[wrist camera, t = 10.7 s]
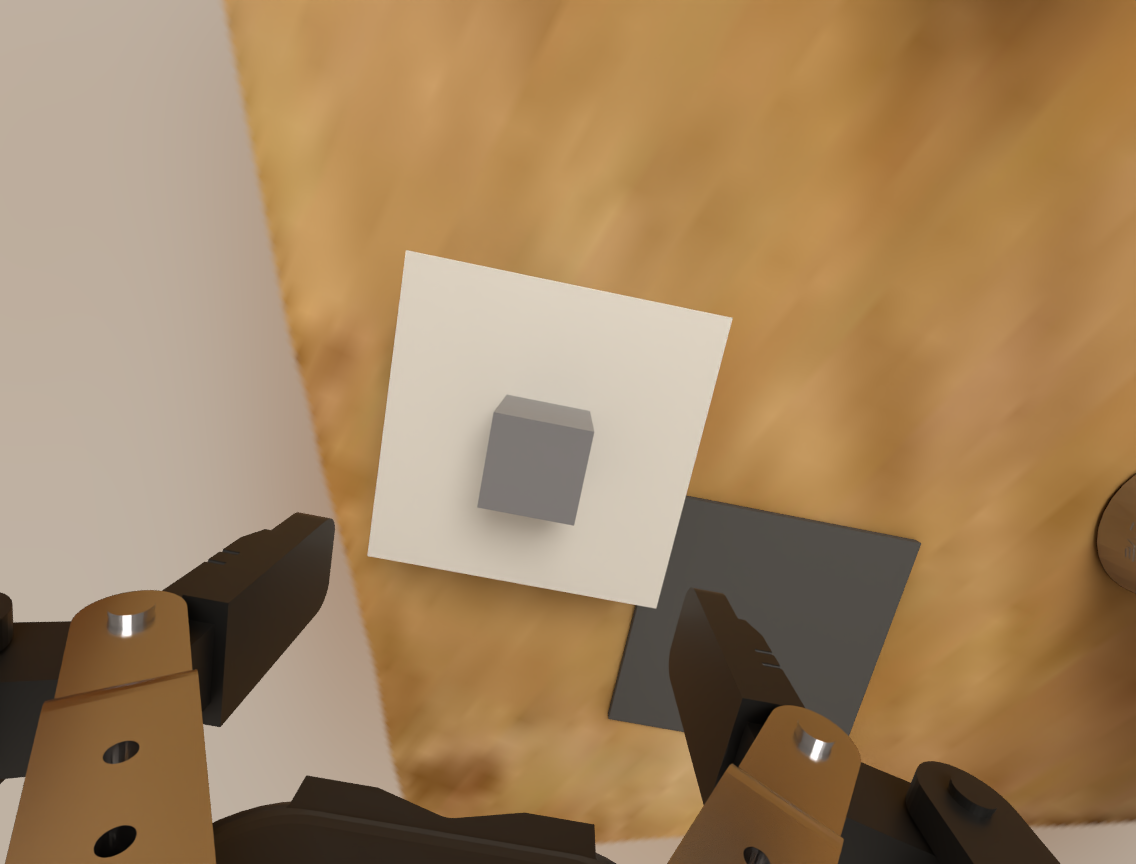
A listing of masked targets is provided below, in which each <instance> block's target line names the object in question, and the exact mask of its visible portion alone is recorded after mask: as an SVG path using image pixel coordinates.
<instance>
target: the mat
mask: <svg viewBox="0 0 1136 864" xmlns="http://www.w3.org/2000/svg"><path fill="white" fill-rule="evenodd" d="M920 545H921V543H920V542H918V541H917V540H913V539H908V538H903V537H897V536H892V535H887V534H882V533H877V532H872V531H866V530H861V529H856V528H851V527H846V526H841V525H836V524H830V523H825V522H820V521H815V520H810V519H805V518H799V517H794V516H789V515H784V514H779V513H774V512H768V511H763V510H758V509H753V508H748V507H743V506H737V505H732V504H727V503H722V502H717V501H712V500H706V499H701V498H696V497H691V496H686V497H685V501H684V505H683V509H682V512H681V516H680V520H679V524H678V528H677V531H676V535H675V539H674V543H673V547H672V550H671V554H670V558H669V562H668V566H667V569H666V573H665V577H664V581H663V585H662V588H661V592H660V596H659V600H658V604H657V607H656V609H655V608H650V607H644V606H639V605H636V606H635V610H634V614H633V618H632V622H631V626H630V629H629V633H628V637H627V641H626V645H625V649H624V653H623V657H622V661H621V665H620V669H619V673H618V677H617V680H616V684H615V688H614V692H613V696H612V700H611V704H610V708H609V712H608V717H609V719H612V720H618V721H624V722H629V723H635V724H641V725H647V726H652V727H658V728H664V729H670V730H675V731H681V732H684V730H683V726H682V722H681V718H680V715H679V711H678V707H677V704H676V700H675V696H674V692H673V689H672V685H671V681H670V677H669V655H670V649H671V645H672V641H673V638H674V634H675V630H676V627H677V623H678V620H679V616H680V612H681V609H682V605H683V602H684V598H685V595H686V593H687V591H688V589H689V588H697V589H702V590H707V591H713V592H718V593H723V594H724V595H725V596H726V598H727V599H728V601H729V603H730V605H731V607H732V609H733V610H734V612H735V614H736V616H737V618H738V619H742V620H746V621H747V622H748V623H749V624H750V625H751V626H752V627H753V628H755V629H756V630H757V631H758V632H759V633H760V634H761V635H762V636H763V637H764V639H765V641H766V642H767V644H768V646H769V648H770V649H771V651H772V655H774V656H775V658H776V659H777V661H778V663H779V664H780V669H783V671H784V673H785V675H786V676H787V678H788V680H789V681H790V683H791V685H792V686H793V688H794V690H795V691H796V693H797V695H798V697H799V698H800V700H801V702H802V703H803V705H804V707H805V708H806V709H809V710H811V711H813V712H816V713H818V714H820V715H822V716H824V717H825V718H827V719H828V720H830V721H831V722H833V723H834V724H836V725H837V726H838V727H839V728H841V729H842V730H843V731H844V732H845V733H846V734H847V735H848V736H849V734H850V732H851V729H852V726H853V724H854V721H855V718H856V716H857V713H858V710H859V708H860V705H861V702H862V700H863V697H864V694H865V692H866V689H867V686H868V684H869V681H870V678H871V676H872V673H873V670H874V668H875V665H876V662H877V660H878V657H879V654H880V652H881V649H882V647H883V644H884V641H885V639H886V636H887V633H888V631H889V628H890V625H891V623H892V620H893V617H894V615H895V612H896V609H897V607H898V604H899V601H900V599H901V596H902V593H903V591H904V588H905V585H906V583H907V580H908V577H909V575H910V572H911V569H912V567H913V564H914V561H915V559H916V556H917V553H918V551H919V548H920Z"/></svg>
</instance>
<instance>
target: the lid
mask: <svg viewBox="0 0 1136 864" xmlns="http://www.w3.org/2000/svg"><path fill="white" fill-rule="evenodd" d="M732 319H733V318H730V317H725V316H721V315H716V314H711V313H706V312H701V311H697V310H692V309H687V308H682V307H677V306H672V305H668V304H663V303H658V302H653V301H648V300H644V299H639V298H634V297H629V296H624V295H620V294H615V293H610V292H605V291H600V290H595V289H591V288H586V287H581V286H576V285H571V284H567V283H562V282H557V281H552V280H547V279H543V278H538V277H533V276H528V275H523V274H518V273H514V272H509V271H504V270H499V269H494V268H490V267H485V266H480V265H475V264H470V263H466V262H461V261H456V260H451V259H446V258H441V257H437V256H432V255H427V254H422V253H417V252H413V251H408V250H406V254H405V262H404V270H403V278H402V286H401V294H400V302H399V310H398V318H397V326H396V334H395V342H394V349H393V357H392V365H391V373H390V381H389V389H388V397H387V405H386V413H385V421H384V429H383V437H382V444H381V452H380V460H379V468H378V476H377V484H376V492H375V500H374V508H373V516H372V524H371V532H370V539H369V547H368V555H367V556H371V557H376V558H382V559H387V560H393V561H398V562H404V563H409V564H415V565H420V566H425V567H431V568H436V569H442V570H447V571H453V572H458V573H464V574H469V575H475V576H480V577H486V578H491V579H497V580H502V581H508V582H513V583H519V584H524V585H529V586H535V587H540V588H546V589H551V590H557V591H562V592H568V593H573V594H579V595H584V596H590V597H595V598H601V599H606V600H612V601H617V602H622V603H628V604H633V605H639V606H644V607H650V608H655V609H656V607H657V604H658V600H659V596H660V592H661V588H662V585H663V581H664V577H665V573H666V569H667V566H668V562H669V558H670V554H671V550H672V547H673V543H674V539H675V535H676V531H677V528H678V524H679V520H680V516H681V512H682V509H683V505H684V501H685V497H686V493H687V490H688V486H689V482H690V478H691V474H692V471H693V467H694V463H695V459H696V455H697V452H698V448H699V444H700V440H701V436H702V433H703V429H704V425H705V421H706V417H707V414H708V410H709V406H710V402H711V398H712V395H713V391H714V387H715V383H716V379H717V376H718V372H719V368H720V364H721V360H722V357H723V353H724V349H725V345H726V341H727V338H728V334H729V330H730V326H731V322H732Z"/></svg>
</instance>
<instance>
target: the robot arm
mask: <svg viewBox="0 0 1136 864" xmlns="http://www.w3.org/2000/svg"><path fill="white" fill-rule="evenodd" d="M334 532H335V525H334V521H333V519H330V518H325V517H320V516H315V515H309V514H303V513H295V514H293V515H292V516H290V517H289V518H288V519H286V520H285V521H284V522H282V523H281V524H279V525H278V526H276V527H275V528H274V529H272V530H267V529H264V530H262V531H258V532H255V533H252V534H249V535H246V536H243V537H241V538H239V539H238V540H236V541H235V542H233V543H232V544H230V545H229V546H227V547H226V548H224V549H223V552H218V553H217V554H216V555H214V556H213V557H211V558H210V559H209V560H208V562H204V563H202V564H201V565H199V566H198V567H196V568H195V569H193V570H192V571H191V572H189V573H188V574H186V575H185V576H183V577H182V578H180V579H179V580H177V581H176V582H175V583H173V584H171V585H170V586H169V587H167V588H165V589H164V590H163V591H157V590H141V591H132V592H126V593H120V594H116V595H112V596H109V597H106V598H103V599H101V600H98V601H96V602H94V603H92V604H90V605H88V606H86V607H85V608H83V609H82V610H80V611H79V612H78V613H77V614H76V615H75V616H74V617H73V619H72V621H70V622H19V623H13V611H12V610H13V609H12V600H11V599H10V598H9V597H8V596H7V595H5V594H3V593H0V784H1V783H2V782H3V781H4V780H5V779H8V778H18V777H25V781H24V785H23V790H22V794H21V798H20V802H19V807H18V811H17V815H16V819H15V823H14V828H13V832H12V836H11V840H10V844H9V849H8V853H7V857H6V862H5V864H616V863H614V862H613V861H611V860H609V859H608V858H606V857H604V856H602V855H600V854H597V853H596V852H595V830H594V824H588V823H582V822H576V821H570V820H564V819H558V818H553V817H547V816H541V815H535V814H529V813H515V814H502V815H490V816H477V817H464V818H446V817H443V816H440V815H438V814H435V813H433V812H431V811H429V810H426V809H424V808H422V807H420V806H418V805H415V804H413V803H411V802H409V801H406V800H404V799H402V798H400V797H398V796H395V795H393V794H391V793H389V792H386V791H384V790H382V789H380V788H376V787H371V786H365V785H359V784H353V783H347V782H341V781H335V780H330V779H324V778H318V777H312V776H306V777H305V779H304V780H303V782H302V784H301V786H300V787H299V789H298V791H297V793H296V794H295V796H294V798H293V800H292V801H291V802H281V803H275V804H270V805H264V806H259V807H256V808H252V809H249V810H245V811H241V812H239V813H236V814H233V815H231V816H228V817H225V818H223V819H220V820H218V821H216V822H214V823H212V815H211V804H210V794H209V783H208V773H207V762H206V752H205V742H204V730H203V724H205V725H211V726H217V727H221V726H222V725H223V723H224V722H225V721H226V720H227V719H228V717H229V716H230V715H231V714H232V713H233V711H234V710H235V709H236V708H237V707H238V706H239V704H240V703H241V702H242V701H243V700H244V698H245V697H246V696H247V695H248V694H249V692H251V690H252V689H253V688H254V687H255V686H256V684H257V683H258V682H259V681H260V680H261V678H262V677H263V676H264V675H265V674H266V673H267V671H268V670H269V669H270V668H271V667H272V665H273V664H274V663H275V662H276V661H277V660H278V659H279V657H280V656H281V655H282V654H283V653H284V651H285V650H286V649H287V648H288V647H289V646H290V644H291V643H292V642H293V641H294V640H295V638H296V637H297V636H298V635H299V634H300V633H301V631H302V630H303V629H304V628H305V626H306V625H307V624H308V623H309V622H310V621H311V620H312V618H313V617H314V616H315V615H316V614H317V612H318V611H319V609H320V608H321V606H322V604H323V601H324V599H325V596H326V593H327V590H328V585H329V576H330V568H331V558H332V550H333V541H334ZM1097 547H1098V555H1099V558H1100V561H1101V563H1102V566H1103V568H1104V570H1105V571H1106V572H1107V573H1108V575H1109V576H1110V577H1111V579H1112V580H1114V581H1115V582H1116V583H1118V584H1119V585H1120V586H1122V587H1123V588H1125V589H1127V590H1129V591H1131V592H1133V593H1135V594H1136V475H1134V476H1133V477H1132V478H1131V479H1130V480H1129V481H1127V482H1126V483H1125V484H1124V485H1123V486H1122V487H1121V488H1120V489H1119V491H1118V492H1117V493H1116V494H1115V495H1114V497H1113V498H1112V499H1111V501H1110V503H1109V504H1108V506H1107V508H1106V510H1105V511H1104V513H1103V516H1102V519H1101V522H1100V525H1099V528H1098V537H1097ZM669 677H670V681H671V685H672V689H673V692H674V696H675V700H676V704H677V707H678V711H679V715H680V718H681V722H682V726H683V730H684V733H685V737H686V741H687V745H688V748H689V752H690V756H691V759H692V763H693V767H694V771H695V774H696V778H697V782H698V785H699V789H700V793H701V797H702V800H703V804H704V806H703V808H702V809H701V811H700V812H699V814H698V816H697V817H696V819H695V820H694V822H693V824H692V825H691V827H690V828H689V830H688V831H687V833H686V835H685V836H684V838H683V839H682V841H681V843H680V844H679V846H678V847H677V849H676V850H675V852H674V854H673V855H672V857H671V858H670V860H669V862H668V863H667V864H1060V863H1059V862H1058V860H1057V859H1056V858H1055V857H1054V856H1053V854H1052V853H1051V852H1050V851H1049V850H1048V848H1047V847H1046V846H1045V845H1044V844H1043V842H1042V841H1041V840H1040V839H1039V838H1038V836H1037V835H1036V834H1035V833H1034V832H1033V830H1032V829H1031V828H1030V827H1029V826H1028V824H1027V823H1026V822H1025V821H1024V820H1023V819H1022V817H1021V816H1020V815H1019V814H1018V813H1017V811H1016V810H1015V809H1014V808H1013V807H1012V806H1011V805H1010V804H1009V803H1008V802H1007V801H1006V800H1005V799H1004V798H1003V797H1002V796H1001V795H999V794H998V793H997V792H996V791H995V790H993V789H992V788H991V787H989V786H988V785H986V784H985V783H984V782H982V781H980V780H979V779H977V778H976V777H974V776H972V775H970V774H969V773H967V772H965V771H963V770H961V769H958V768H956V767H953V766H951V765H948V764H944V763H941V762H934V761H928V762H923V763H921V764H920V765H919V766H918V768H917V770H916V772H915V775H914V777H913V779H912V782H911V783H910V782H907V781H905V780H902V779H900V778H898V777H895V776H893V775H890V774H888V773H885V772H883V771H881V770H878V769H876V768H873V767H871V766H869V765H866V764H864V763H862V762H861V757H860V753H859V751H858V748H857V747H856V745H855V744H854V742H853V741H852V740H851V738H850V737H849V736H848V735H847V734H846V733H845V732H844V731H843V730H842V729H841V728H839V727H838V726H837V725H836V724H834V723H833V722H831V721H830V720H828V719H827V718H825V717H824V716H822V715H820V714H818V713H816V712H813V711H811V710H809V709H806V708H805V707H804V705H803V703H802V702H801V700H800V698H799V697H798V695H797V693H796V691H795V690H794V688H793V686H792V685H791V683H790V681H789V680H788V678H787V676H786V675H785V673H784V671H783V669H780V664H779V663H778V661H777V659H776V658H775V656H774V655H772V651H771V649H770V648H769V646H768V644H767V642H766V641H765V639H764V637H763V636H762V635H761V634H760V633H759V632H758V631H757V630H756V629H755V628H753V627H752V626H751V625H750V624H749V623H748V622H747V621H746V620H742V619H738V618H737V616H736V614H735V612H734V610H733V609H732V607H731V605H730V603H729V601H728V599H727V598H726V596H725V595H724V594H723V593H718V592H713V591H707V590H702V589H697V588H689V589H688V591H687V593H686V595H685V598H684V602H683V605H682V609H681V612H680V616H679V620H678V623H677V627H676V630H675V634H674V638H673V641H672V645H671V649H670V655H669Z"/></svg>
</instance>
